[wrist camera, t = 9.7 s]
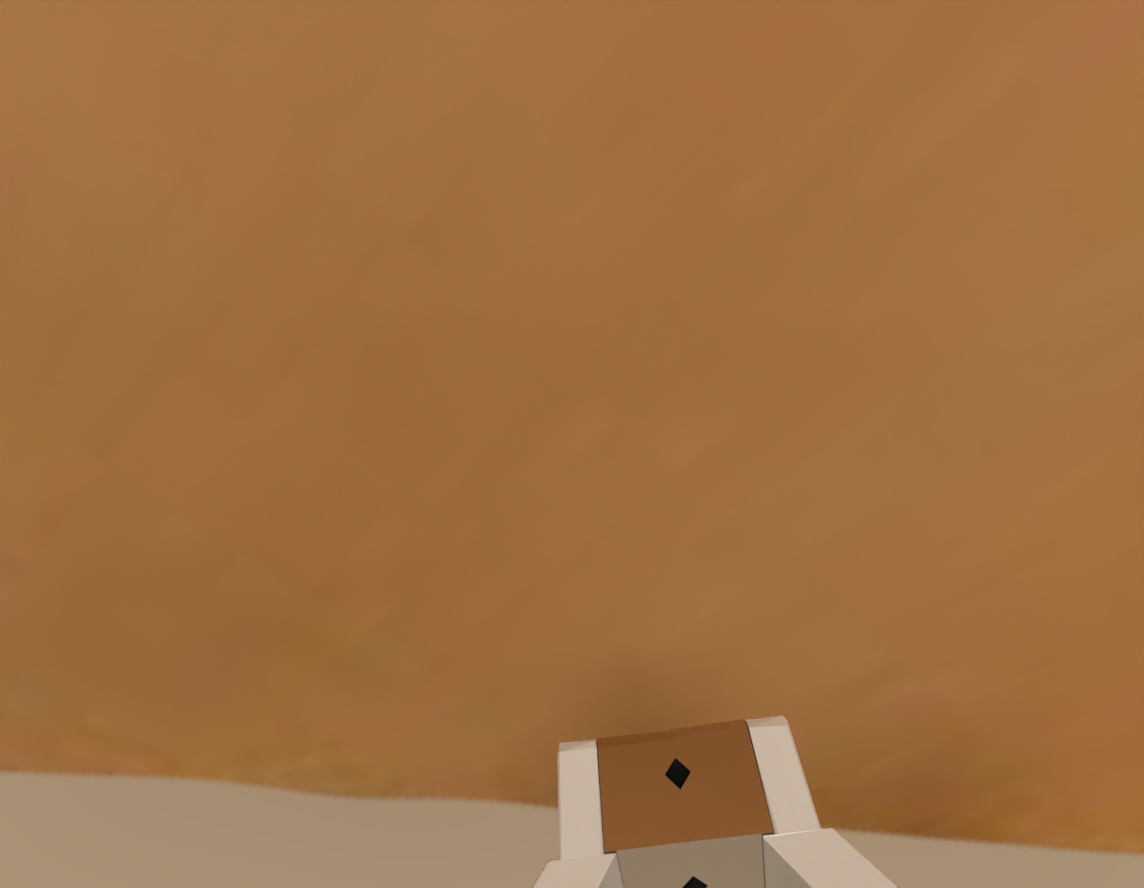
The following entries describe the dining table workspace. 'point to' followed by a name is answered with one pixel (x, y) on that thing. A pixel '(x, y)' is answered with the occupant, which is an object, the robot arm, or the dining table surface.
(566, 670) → the dining table surface
